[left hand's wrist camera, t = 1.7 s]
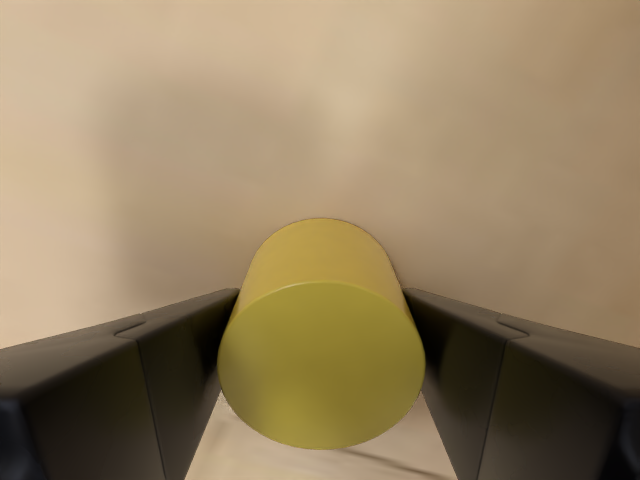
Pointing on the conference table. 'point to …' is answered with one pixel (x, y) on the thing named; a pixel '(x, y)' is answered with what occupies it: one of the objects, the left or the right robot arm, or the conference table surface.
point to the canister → (321, 339)
